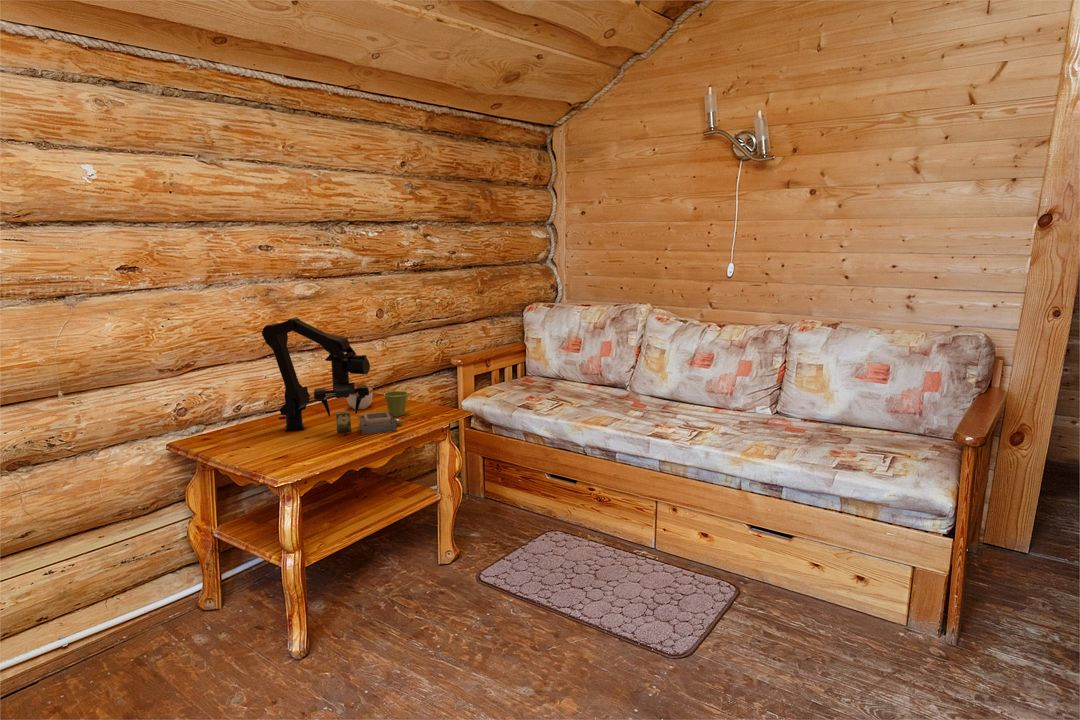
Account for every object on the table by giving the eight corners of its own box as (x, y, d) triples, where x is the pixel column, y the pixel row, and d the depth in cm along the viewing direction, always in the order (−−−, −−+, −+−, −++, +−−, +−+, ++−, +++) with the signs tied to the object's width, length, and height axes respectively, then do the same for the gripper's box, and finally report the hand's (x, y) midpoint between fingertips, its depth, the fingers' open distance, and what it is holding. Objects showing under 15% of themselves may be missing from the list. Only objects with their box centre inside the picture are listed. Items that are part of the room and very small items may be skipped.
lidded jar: (348, 404, 270) (346, 383, 268) (374, 403, 272) (373, 382, 270) (345, 411, 260) (343, 389, 258) (372, 410, 261) (371, 388, 260)
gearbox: (359, 423, 243) (358, 412, 242) (399, 420, 248) (399, 408, 247) (362, 434, 230) (361, 422, 229) (404, 430, 235) (404, 418, 234)
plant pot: (385, 412, 259) (384, 391, 257) (409, 410, 261) (408, 390, 259) (384, 418, 250) (383, 397, 248) (409, 417, 252) (408, 395, 250)
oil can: (336, 430, 235) (335, 410, 233) (350, 428, 237) (349, 409, 235) (337, 435, 229) (336, 415, 227) (352, 434, 230) (350, 414, 229)
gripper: (312, 379, 219) (315, 423, 222) (369, 375, 225) (371, 418, 228) (312, 373, 229) (315, 415, 232) (366, 369, 235) (368, 410, 238)
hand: (342, 415), depth 232 cm, fingers open, 9 cm apart
